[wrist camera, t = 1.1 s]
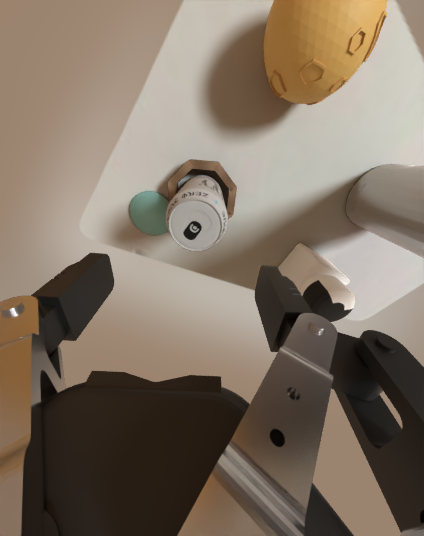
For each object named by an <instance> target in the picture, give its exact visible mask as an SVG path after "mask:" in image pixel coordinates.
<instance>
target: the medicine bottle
mask: <svg viewBox="0 0 424 536" xmlns="http://www.w3.org/2000/svg"><path fill="white" fill-rule="evenodd" d="M278 269H279V271H280V273H281V274H282V276H286V277H288V278H289V279H290V280H291V281H293V282H294V284H295V285H296V287H297V288H298V290H299V292H300V293H301V295H302V296H303V298H304V299H305V301H306V302H307V304H308V306H309V307H310V309H311V310H312V312H313V313H314V314H317V315H319V316H322V317H324V318H325V319H327V320H328V321H330V322H333V321H337V320H339V319H341V318H343V317H345V316H346V315H348V314H349V313H350V312H351V310H352V309H353V307H354V304H355V297H354V295H353V293H352V292H351V291H350V290H349V289H348V288H347V287H346V285H347V284H348V283H349V282H350V280H349V279H348V278H347V277H346V276H345V275H344V274H343V273H342V272H341V271H340V270H339V269H337V268H336V267H335V266H334V265H333V264H332V263H331V262H330V261H329V260H327V259H326V258H324V257H323V256H321V255H319V254H318V253H316V252H315V251H313V250H311V249H310V248H308V247H307V246H305V245H303V244H302V243H299V244H298V245H297V246H296V247H295V248H294V249H293V250H292V252H291V253H290V254H289V255H288V256H287V257H286V258H285V260H284V261H283V262H282V263H281V264H280V265H279V267H278Z"/></svg>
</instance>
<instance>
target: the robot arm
mask: <svg viewBox="0 0 424 536" xmlns="http://www.w3.org/2000/svg"><path fill="white" fill-rule="evenodd" d="M346 213H347V216H348V218H349V219H350V220H351V222H353V223H354V224H356V225H358V226H360V227H362V228H364V229H366V230H368V231H370V232H372V233H374V234H376V235H378V236H380V237H382V238H384V239H386V240H388V241H390V242H392V243H394V244H397V245H399V246H401V247H403V248H405V249H407V250H409V251H411V252H413V253H415V254H417V255H419V256H421V257H423V258H424V166H417V165H398V164H387V165H382V166H379V167H376V168H374V169H372V170H370V171H369V172H367V173H366V174H365V175H363V176H362V177H361V178H360V179H359V180H358V181H357V182H356V184H355V185H354V186H353V188H352V189H351V191H350V193H349V195H348V198H347V201H346ZM113 286H114V277H113V272H112V268H111V263H110V258H109V256H108V255H107V254H100V253H89V254H88V255H87V256H86V257H84V258H83V259H82V260H81V261H79V262H77V263H75V264H73V265H70V266H68V267H67V268H65V269H64V270H63V271H62V272H61V273H60V274H58V275H57V276H55V277H54V279H51V280H50V281H49V282H48V283H46V284H45V285H44V286H43V287H41V288H40V289H39V290H37V291H36V292H35V293H34V294H32V295H31V296H18V297H13V298H10V299H7V300H4V301H2V302H0V536H354V535H353V534H352V533H351V531H350V530H349V529H348V528H347V526H346V525H345V524H344V522H343V521H342V520H341V519H340V517H339V516H338V515H337V513H336V512H335V511H334V510H333V508H332V507H331V506H330V505H329V503H328V502H327V501H326V499H325V498H324V497H323V496H322V494H321V493H320V492H319V491H318V489H317V488H316V487H315V485H314V484H313V483H312V481H313V476H314V471H315V466H316V461H317V456H318V451H319V446H320V442H321V437H322V431H323V427H324V422H325V417H326V412H327V407H328V402H329V397H330V392H331V388H332V389H334V390H335V392H336V394H337V397H338V398H339V401H340V403H341V405H342V407H343V409H344V411H345V414H346V416H347V418H348V420H349V422H350V424H351V427H352V429H353V430H354V433H355V435H356V437H357V439H358V441H359V443H360V445H361V448H362V450H363V452H364V454H365V456H366V459H367V461H368V463H369V465H370V467H371V469H372V471H373V473H374V476H375V478H376V480H377V482H378V484H379V486H380V488H381V491H382V493H383V495H384V497H385V499H386V501H387V504H388V506H389V508H390V510H391V512H392V514H393V516H394V518H395V521H396V523H397V525H398V527H399V529H400V531H401V535H400V536H424V367H423V366H422V365H421V364H420V363H419V362H418V361H417V360H416V359H415V358H414V356H413V355H412V354H411V353H410V352H409V351H408V350H407V349H406V348H405V347H404V346H403V345H402V344H401V343H399V342H398V341H397V340H395V339H394V338H392V337H390V336H388V335H386V334H384V333H381V332H378V331H374V330H367V331H364V332H363V333H362V335H361V336H360V338H356V337H352V336H349V335H345V334H342V333H339V332H337V330H336V328H335V326H334V325H333V324H332V323H331V322H330V321H328V320H327V319H325V318H324V317H322V316H319V315H317V314H314V313H313V312H312V310H311V309H310V307H309V306H308V304H307V302H306V301H305V299H304V298H303V296H302V295H301V293H300V292H299V290H298V288H297V287H296V285H295V284H294V282H293V281H291V280H290V279H289V278H288V277H286V276H282V274H281V273H280V271H279V269H278V268H277V267H276V266H261V268H260V272H259V276H258V280H257V285H256V289H255V301H256V304H257V307H258V311H259V314H260V317H261V321H262V324H263V327H264V330H265V334H266V337H267V341H268V344H269V347H270V350H271V352H278V353H277V355H276V357H275V359H274V360H273V362H272V364H271V366H270V368H269V370H268V372H267V373H266V375H265V377H264V379H263V381H262V383H261V385H260V387H259V388H258V391H257V392H256V394H255V396H254V398H253V400H252V401H251V403H250V404H249V403H248V402H247V401H245V400H244V399H243V398H242V397H240V396H239V395H237V394H236V393H234V392H232V391H230V390H228V389H226V388H223V387H221V377H217V376H195V375H189V376H184V377H179V378H175V379H170V380H165V381H161V382H152V381H149V380H146V379H143V378H140V377H137V376H134V375H131V374H128V373H125V372H107V371H92V372H91V374H90V375H89V377H88V379H87V381H86V382H85V383H81V384H78V385H74V386H72V387H70V388H67V389H66V385H65V378H64V370H63V363H62V355H61V349H60V347H59V344H60V343H61V342H62V340H69V341H76V340H77V338H78V337H79V335H80V334H81V332H82V331H83V330H84V328H85V327H86V326H87V324H88V323H89V322H90V320H91V319H92V318H93V316H94V315H95V313H96V312H97V311H98V309H99V308H100V306H101V305H102V304H103V302H104V301H105V300H106V298H107V297H108V295H109V294H110V293H111V291H112V290H113ZM382 391H384V392H385V394H386V395H387V397H388V398H389V399H390V401H391V402H392V404H393V405H394V407H395V408H396V410H397V411H398V413H399V415H400V417H401V420H402V425H403V428H402V429H401V427H400V426H399V424H398V422H397V421H396V419H395V418H394V416H393V415H392V413H391V412H390V410H389V408H388V407H387V405H386V404H385V402H384V401H383V399H382V398H381V396H380V395H379V394H380V393H381V392H382Z"/></svg>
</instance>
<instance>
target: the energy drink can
mask: <svg viewBox="0 0 424 536" xmlns="http://www.w3.org/2000/svg"><path fill="white" fill-rule="evenodd" d="M166 225H167V228H168V231H169V232H170V234H171V236H172V238H173V239H174V241H175V242H176V243H177V244H178V245H180V246H181V247H183V248H185V249H187V250H190V251H203V250H206V249H209V248H210V247H212V246H213V245H215V244H216V243H218V242H219V241H220V240H221V239H222V237H223V236H224V234H225V232H226V229H227V225H228V215H227V210H226V206H225V202H224V198H223V194H222V190H221V188H220V186H219V184H218V183H217V182H216V181H215V180H214V179H213V178H211V177H209V176H206V175H198V176H195V177H193V178H191V179H190V180H188V182H187V183H186V184H185V185H184V186H183V187H182V188H181V189H180V191H179V192H178V193H177V194H176V195H175V196H174V197H173V199H172V200H171V201H170V203H169V205H168V207H167V211H166Z"/></svg>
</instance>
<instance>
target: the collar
mask: <svg viewBox="0 0 424 536" xmlns="http://www.w3.org/2000/svg"><path fill="white" fill-rule="evenodd" d="M191 169H202V170H213V171H216V172H217V174H218V175H219V176H220V178H221V179H222V180H223V182H224V183H225V184H226V186H227V187H228V193H227V202H226V210H227V215H228V219H229V218H230V217H232V215H233V212H234V205H235V198H236V190H237V187H236V185H235V184H234V183H233V181H232V180H231V178H230V177H229V176H228V174H227V173H226V172H225V170H224V169H223V167H222V166H221V165H220V163H218V162H214V161H203V160H193V159H191V160H188V161H187V162H186V163H185V164H184V165H183V166H182V167H181V168H180V169H179V170H178V171H177V172H176V173H175V174H174V176H173V177H172V178H171V179H170V180H169V181H168V196H169V203H170V201H171V200H172V199H173V197H174V196H175V195H176V194H177V193H178V182H179V181H180V180H181V179H182V178H183V177H184V176H185V175H186V174H187V173H188V172H189V171H190V170H191Z"/></svg>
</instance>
